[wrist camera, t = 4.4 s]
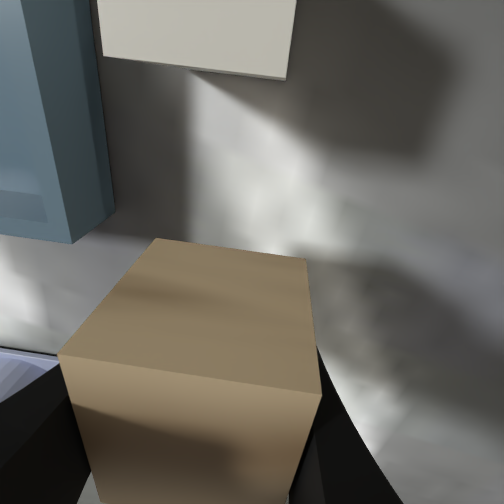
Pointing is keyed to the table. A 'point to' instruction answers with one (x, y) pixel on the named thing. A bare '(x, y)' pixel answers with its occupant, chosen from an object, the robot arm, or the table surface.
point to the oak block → (197, 377)
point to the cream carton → (201, 34)
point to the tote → (51, 123)
